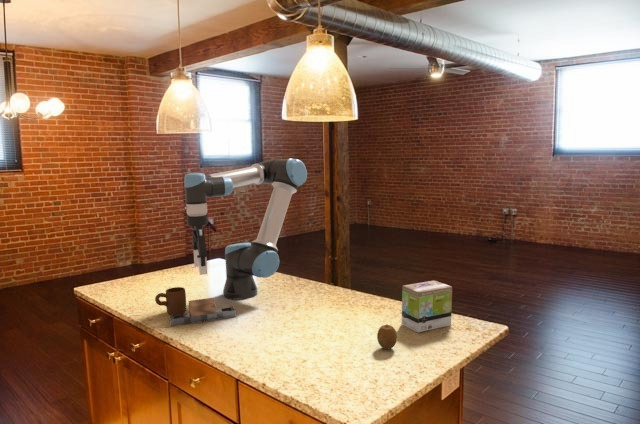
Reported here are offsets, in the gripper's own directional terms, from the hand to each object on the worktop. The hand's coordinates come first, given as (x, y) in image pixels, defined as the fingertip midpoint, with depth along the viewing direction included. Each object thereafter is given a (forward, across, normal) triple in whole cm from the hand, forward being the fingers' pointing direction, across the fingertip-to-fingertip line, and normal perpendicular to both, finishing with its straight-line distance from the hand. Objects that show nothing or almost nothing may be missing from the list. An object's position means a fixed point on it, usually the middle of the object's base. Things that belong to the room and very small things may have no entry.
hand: (200, 270), depth 179 cm
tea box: (+20, +43, +72) cm, 86 cm away
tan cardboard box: (+19, +1, -1) cm, 19 cm away
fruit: (+20, +55, +49) cm, 76 cm away
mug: (+19, -12, -11) cm, 25 cm away
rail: (+19, +1, 0) cm, 19 cm away
